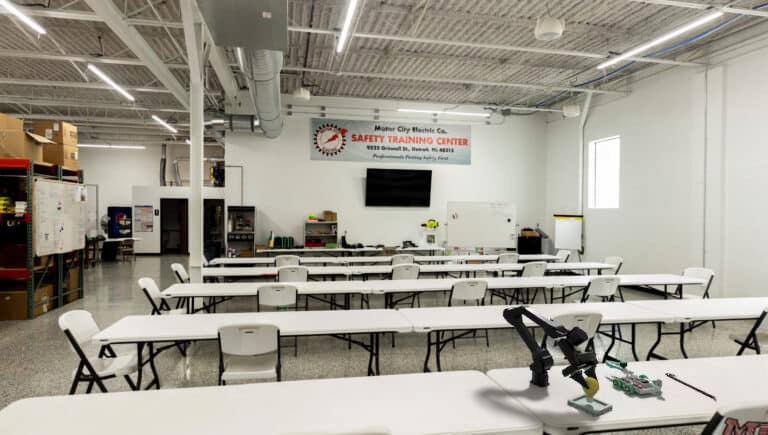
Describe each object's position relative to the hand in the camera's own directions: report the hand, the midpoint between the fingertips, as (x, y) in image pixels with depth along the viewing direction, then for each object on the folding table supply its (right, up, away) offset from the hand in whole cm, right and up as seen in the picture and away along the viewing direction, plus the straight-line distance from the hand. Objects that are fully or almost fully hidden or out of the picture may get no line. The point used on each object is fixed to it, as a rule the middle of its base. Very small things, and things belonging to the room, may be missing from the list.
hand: (593, 387), depth 166 cm
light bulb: (-1, -7, +1) cm, 7 cm away
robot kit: (+29, -9, +24) cm, 38 cm away
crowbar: (+57, -10, +23) cm, 63 cm away
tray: (-1, -8, +1) cm, 8 cm away
